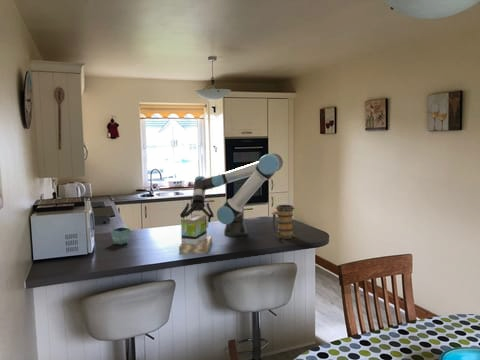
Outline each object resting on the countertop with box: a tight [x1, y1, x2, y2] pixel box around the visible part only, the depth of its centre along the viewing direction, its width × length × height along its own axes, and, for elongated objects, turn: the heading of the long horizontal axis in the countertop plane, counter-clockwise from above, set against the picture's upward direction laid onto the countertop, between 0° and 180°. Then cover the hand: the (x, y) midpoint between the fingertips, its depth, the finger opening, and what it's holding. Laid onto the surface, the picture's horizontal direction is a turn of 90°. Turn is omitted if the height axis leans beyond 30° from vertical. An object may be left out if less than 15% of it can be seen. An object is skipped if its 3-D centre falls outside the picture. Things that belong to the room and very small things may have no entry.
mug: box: [271, 204, 296, 240], centre depth 239 cm, size 13×17×20 cm
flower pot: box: [110, 226, 131, 245], centre depth 233 cm, size 9×9×9 cm
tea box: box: [180, 214, 208, 245], centre depth 219 cm, size 15×10×15 cm
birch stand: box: [178, 235, 213, 254], centre depth 221 cm, size 16×22×4 cm
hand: (195, 226), depth 221 cm, fingers open, 13 cm apart
